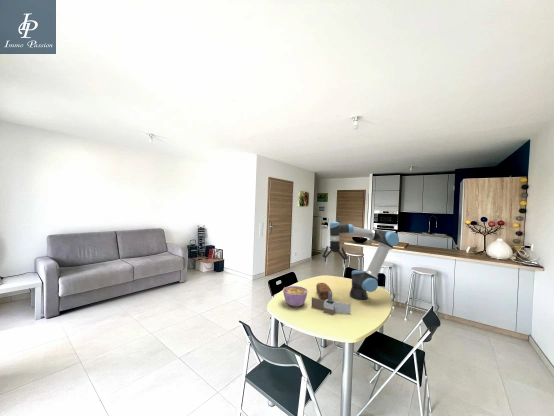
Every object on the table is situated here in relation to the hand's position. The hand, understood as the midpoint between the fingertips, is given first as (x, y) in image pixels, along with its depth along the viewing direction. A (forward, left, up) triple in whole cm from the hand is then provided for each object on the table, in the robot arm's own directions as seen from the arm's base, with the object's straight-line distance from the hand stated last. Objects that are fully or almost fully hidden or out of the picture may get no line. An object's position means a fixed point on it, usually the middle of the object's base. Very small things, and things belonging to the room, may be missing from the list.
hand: (335, 266), depth 176 cm
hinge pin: (+16, +1, -31) cm, 34 cm away
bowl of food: (+19, -27, -31) cm, 45 cm away
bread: (-11, -13, -31) cm, 35 cm away
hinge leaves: (+15, +1, -31) cm, 34 cm away
